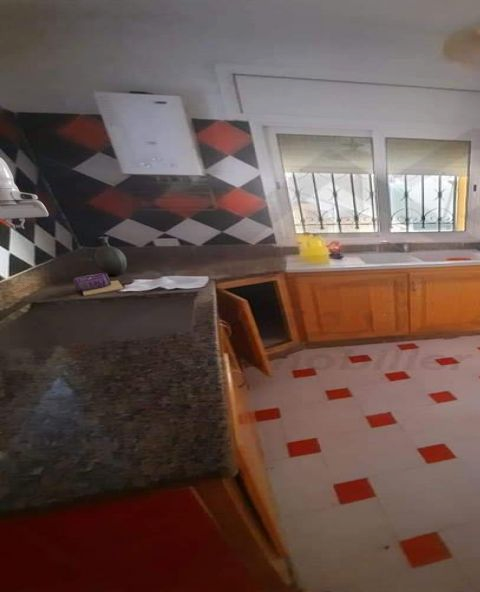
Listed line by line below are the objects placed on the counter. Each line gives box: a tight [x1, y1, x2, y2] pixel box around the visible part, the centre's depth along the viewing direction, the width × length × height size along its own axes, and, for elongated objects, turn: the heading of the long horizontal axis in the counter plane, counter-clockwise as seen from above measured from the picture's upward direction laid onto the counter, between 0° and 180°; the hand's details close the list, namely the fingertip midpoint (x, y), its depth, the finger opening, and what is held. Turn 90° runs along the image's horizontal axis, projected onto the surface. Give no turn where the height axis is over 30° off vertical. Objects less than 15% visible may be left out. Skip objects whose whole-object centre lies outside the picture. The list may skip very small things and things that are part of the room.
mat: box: [82, 279, 124, 297], centre depth 159 cm, size 14×20×1 cm
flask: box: [94, 236, 128, 276], centre depth 178 cm, size 12×17×22 cm
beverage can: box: [72, 272, 111, 293], centre depth 155 cm, size 7×7×12 cm
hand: (19, 229), depth 137 cm, fingers closed
